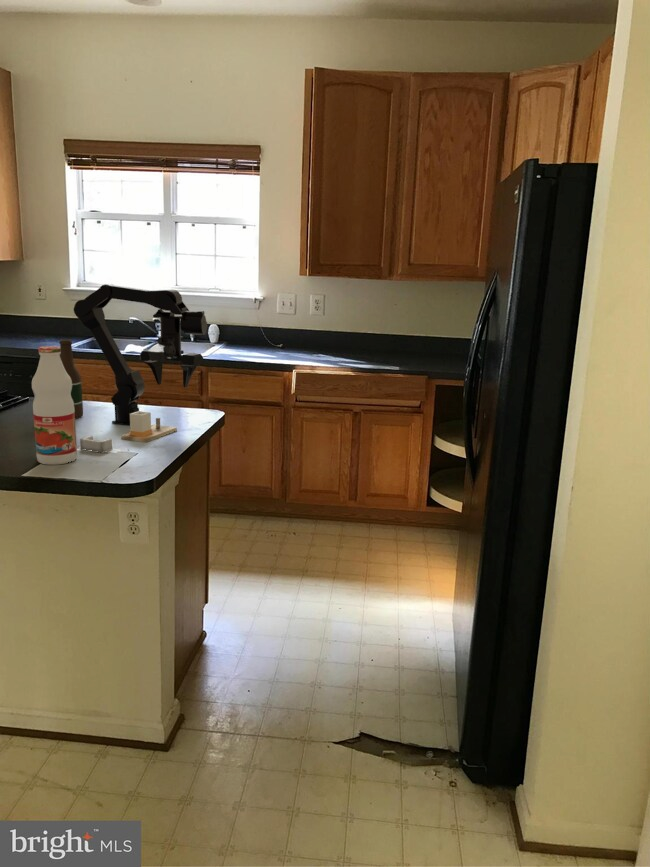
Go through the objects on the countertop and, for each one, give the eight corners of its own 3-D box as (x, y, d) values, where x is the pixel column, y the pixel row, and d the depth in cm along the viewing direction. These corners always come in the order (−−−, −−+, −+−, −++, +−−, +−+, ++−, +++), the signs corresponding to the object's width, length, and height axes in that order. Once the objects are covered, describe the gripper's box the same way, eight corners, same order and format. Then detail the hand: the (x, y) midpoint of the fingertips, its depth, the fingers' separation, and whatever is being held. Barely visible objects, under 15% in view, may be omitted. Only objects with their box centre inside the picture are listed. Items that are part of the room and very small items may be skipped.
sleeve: (129, 434, 192) (128, 413, 191) (139, 431, 196) (138, 410, 195) (142, 436, 191) (141, 415, 189) (152, 433, 195) (151, 412, 193)
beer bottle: (88, 416, 218) (84, 339, 212) (68, 420, 211) (62, 342, 205) (72, 412, 222) (67, 337, 216) (51, 416, 215) (46, 339, 209)
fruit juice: (83, 455, 176) (77, 345, 169) (67, 466, 166) (59, 350, 160) (48, 453, 176) (40, 344, 169) (29, 464, 167) (20, 348, 160)
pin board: (121, 439, 192) (121, 425, 191) (154, 427, 206) (153, 414, 205) (145, 442, 189) (145, 428, 188) (176, 430, 203) (176, 417, 202)
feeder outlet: (80, 449, 181) (80, 439, 180) (91, 445, 185) (90, 435, 184) (102, 452, 178) (101, 442, 178) (112, 449, 182) (111, 438, 181)
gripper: (127, 333, 199) (129, 387, 203) (182, 338, 192) (183, 393, 196) (150, 330, 209) (152, 381, 213) (203, 334, 202) (204, 387, 206)
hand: (172, 385), depth 207 cm, fingers open, 9 cm apart
